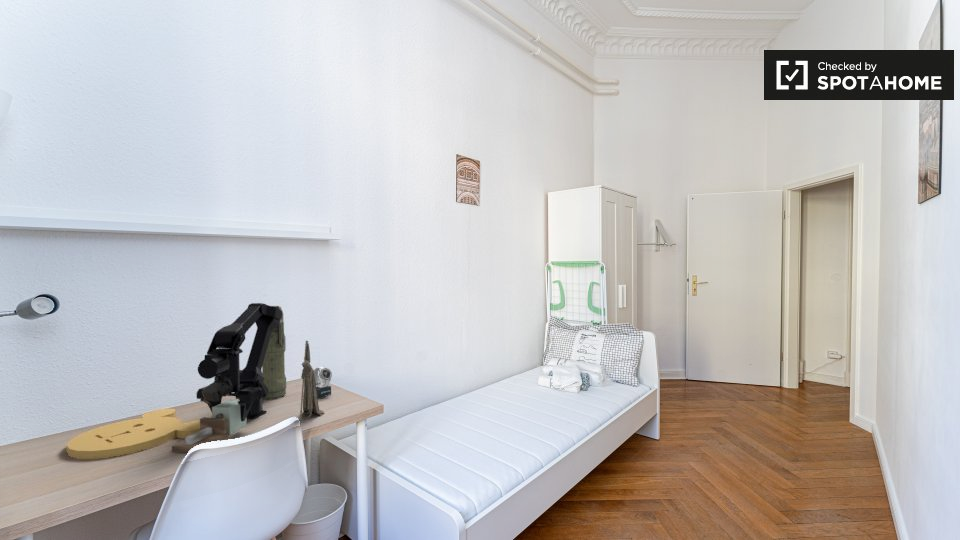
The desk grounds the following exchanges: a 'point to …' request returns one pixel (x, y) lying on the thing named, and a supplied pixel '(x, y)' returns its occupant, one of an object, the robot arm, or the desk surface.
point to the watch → (326, 378)
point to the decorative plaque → (131, 435)
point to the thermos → (275, 363)
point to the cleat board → (204, 424)
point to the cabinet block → (229, 415)
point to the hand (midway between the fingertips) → (229, 420)
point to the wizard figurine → (309, 387)
